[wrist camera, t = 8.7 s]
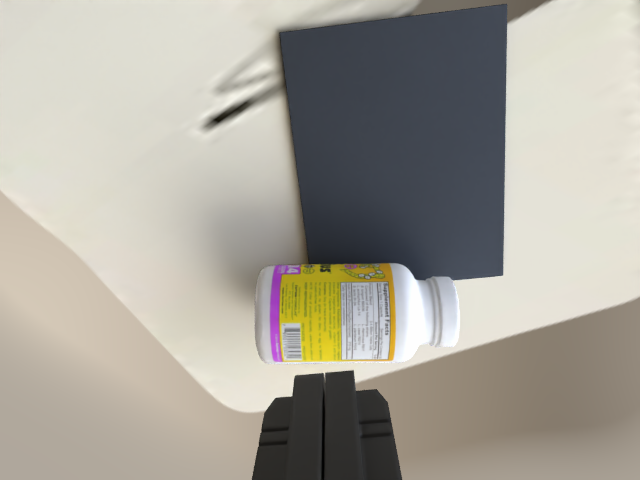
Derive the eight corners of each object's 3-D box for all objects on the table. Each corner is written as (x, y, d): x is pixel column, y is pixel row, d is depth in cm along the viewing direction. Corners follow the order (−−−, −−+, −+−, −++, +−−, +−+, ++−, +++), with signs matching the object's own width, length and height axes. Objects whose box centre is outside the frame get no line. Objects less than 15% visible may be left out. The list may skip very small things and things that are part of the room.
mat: (279, 33, 29) (279, 32, 29) (505, 4, 28) (507, 3, 28) (313, 291, 35) (313, 293, 34) (501, 274, 34) (503, 275, 34)
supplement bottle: (268, 279, 36) (435, 276, 35) (265, 367, 33) (443, 366, 33) (254, 251, 29) (457, 249, 29) (250, 359, 27) (470, 357, 27)
